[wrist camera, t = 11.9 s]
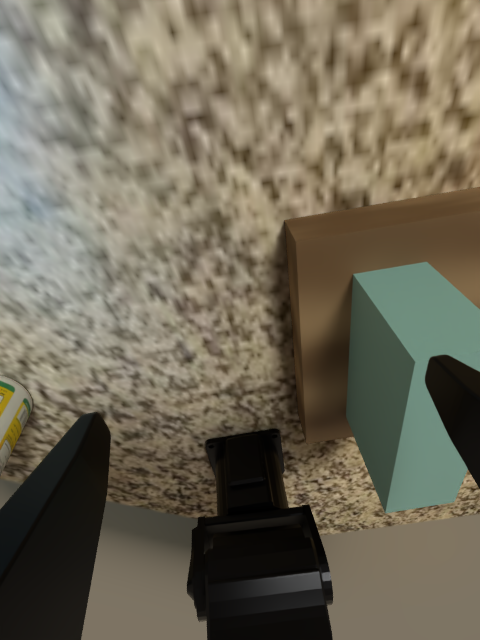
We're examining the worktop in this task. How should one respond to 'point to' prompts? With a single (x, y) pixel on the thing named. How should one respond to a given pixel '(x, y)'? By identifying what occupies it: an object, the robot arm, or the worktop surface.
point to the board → (357, 257)
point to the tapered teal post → (406, 381)
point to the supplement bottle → (12, 415)
